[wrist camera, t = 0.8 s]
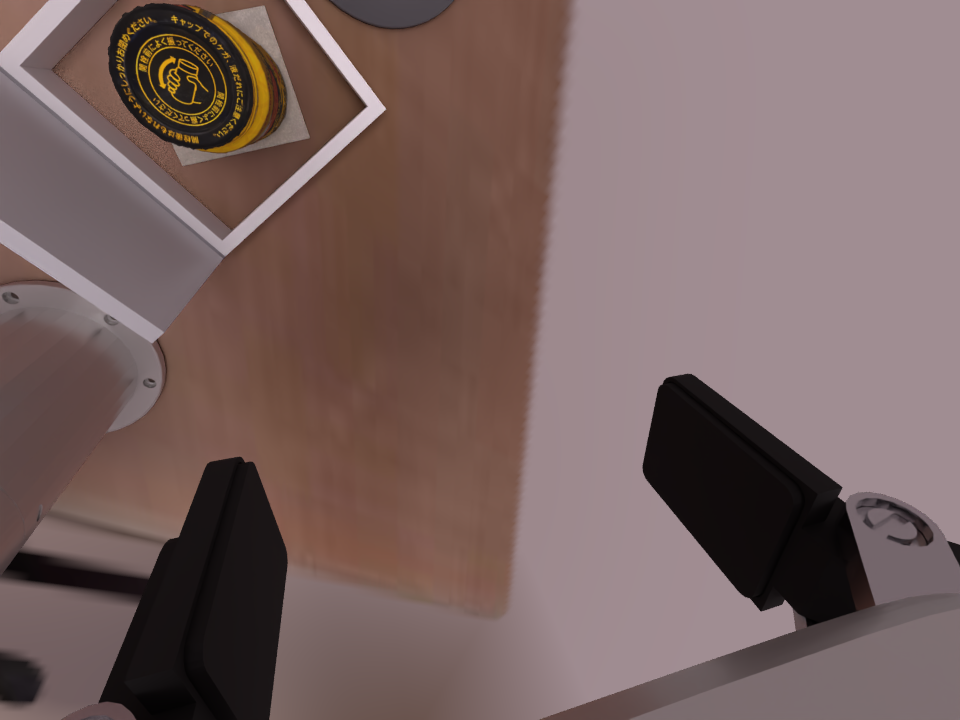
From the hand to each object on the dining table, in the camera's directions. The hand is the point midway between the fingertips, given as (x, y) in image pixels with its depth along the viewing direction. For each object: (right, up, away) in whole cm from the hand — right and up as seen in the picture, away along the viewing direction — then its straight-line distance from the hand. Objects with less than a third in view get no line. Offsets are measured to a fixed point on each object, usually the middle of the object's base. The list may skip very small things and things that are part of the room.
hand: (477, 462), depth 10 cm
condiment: (-16, +20, +18) cm, 31 cm away
